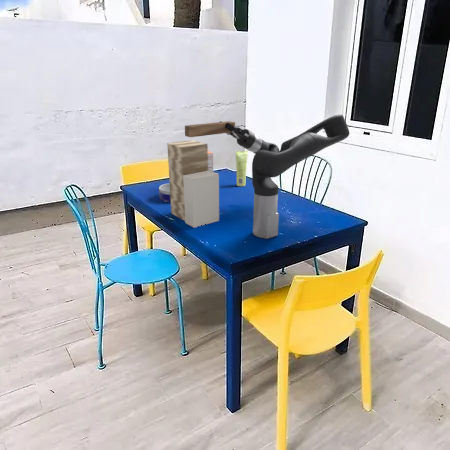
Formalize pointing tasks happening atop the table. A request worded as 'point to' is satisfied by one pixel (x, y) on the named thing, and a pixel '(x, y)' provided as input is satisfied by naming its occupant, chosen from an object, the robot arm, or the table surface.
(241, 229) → the table surface
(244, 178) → the tube
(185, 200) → the white block
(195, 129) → the light brown wooden block
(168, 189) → the dog bowl
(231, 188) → the table surface
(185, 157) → the birch stand
